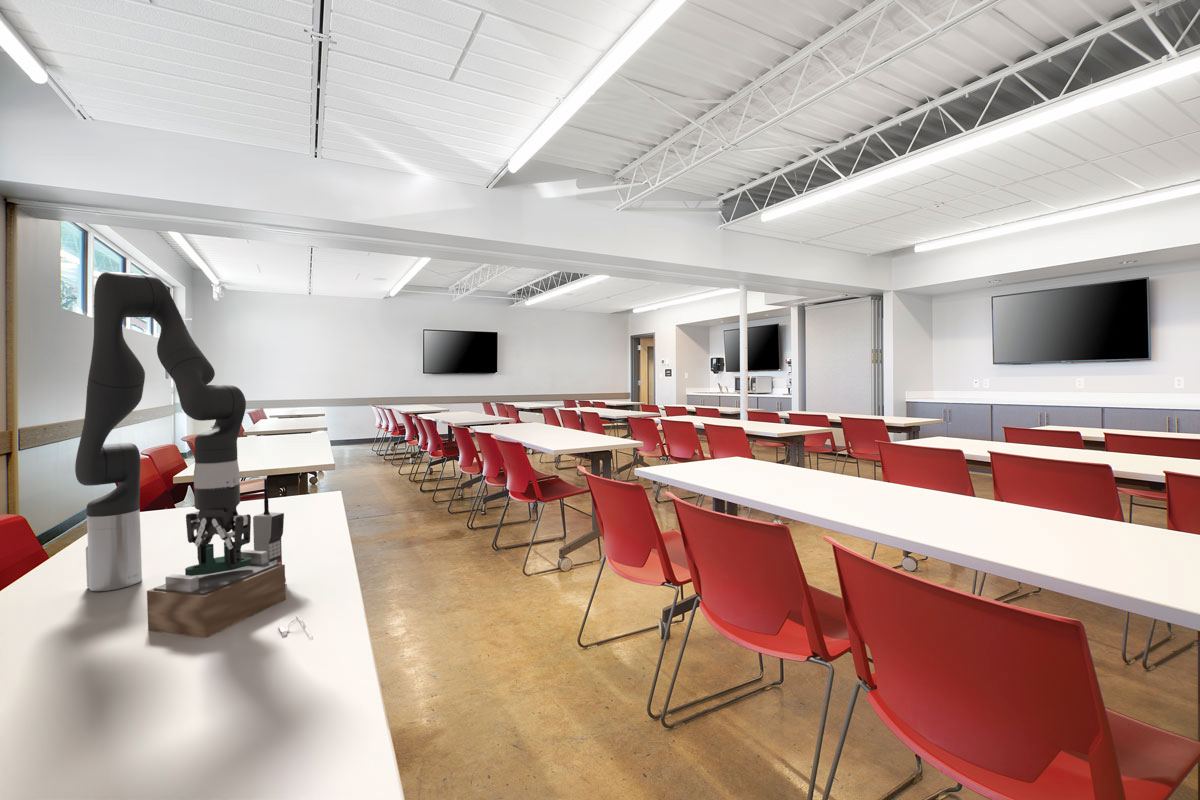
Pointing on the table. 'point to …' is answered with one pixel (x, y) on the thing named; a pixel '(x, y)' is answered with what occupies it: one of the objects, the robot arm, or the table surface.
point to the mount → (215, 563)
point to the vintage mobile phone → (268, 532)
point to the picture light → (284, 631)
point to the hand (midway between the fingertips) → (219, 564)
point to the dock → (215, 597)
